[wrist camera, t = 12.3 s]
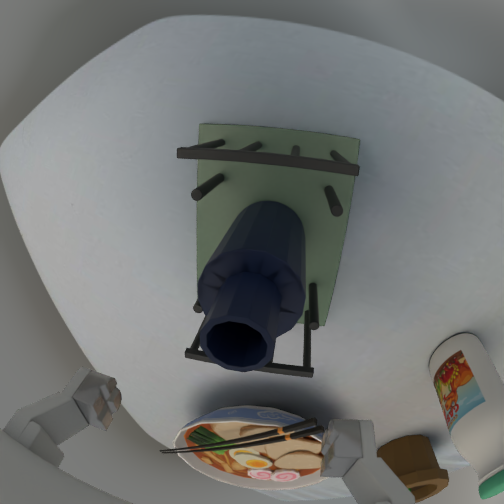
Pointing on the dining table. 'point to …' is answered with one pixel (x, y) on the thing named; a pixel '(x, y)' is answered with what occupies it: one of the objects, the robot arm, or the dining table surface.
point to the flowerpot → (415, 465)
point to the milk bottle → (472, 407)
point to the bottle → (253, 286)
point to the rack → (279, 190)
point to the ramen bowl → (253, 447)
